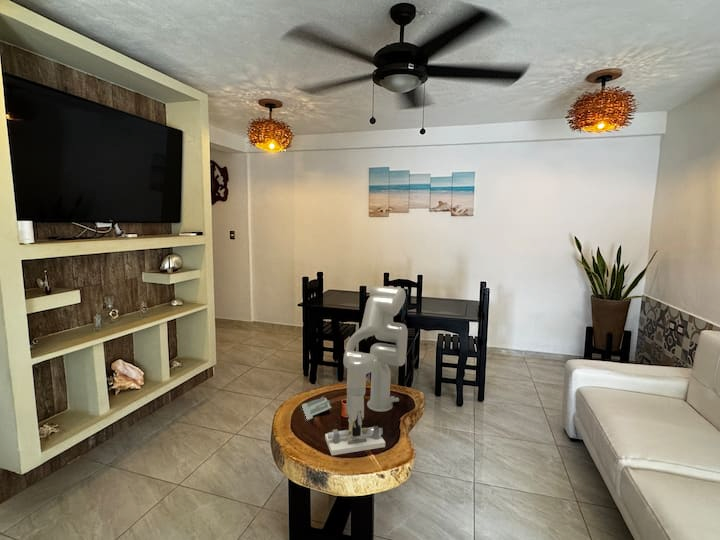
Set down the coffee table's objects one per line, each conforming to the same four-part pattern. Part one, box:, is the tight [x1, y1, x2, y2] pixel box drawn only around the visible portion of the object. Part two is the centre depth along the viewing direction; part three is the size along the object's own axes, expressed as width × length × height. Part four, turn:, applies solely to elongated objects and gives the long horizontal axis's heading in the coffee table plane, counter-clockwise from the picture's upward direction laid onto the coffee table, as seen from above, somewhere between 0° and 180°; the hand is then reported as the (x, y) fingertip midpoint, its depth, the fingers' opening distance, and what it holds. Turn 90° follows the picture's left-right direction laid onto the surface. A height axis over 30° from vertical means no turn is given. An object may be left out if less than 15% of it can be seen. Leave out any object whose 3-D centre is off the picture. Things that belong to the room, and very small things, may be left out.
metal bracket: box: [301, 396, 333, 421], centre depth 173 cm, size 14×6×15 cm
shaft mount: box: [324, 426, 386, 456], centre depth 148 cm, size 22×12×6 cm, turn 107°
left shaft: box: [361, 425, 384, 439], centre depth 149 cm, size 8×4×4 cm, turn 92°
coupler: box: [347, 416, 361, 437], centre depth 148 cm, size 6×4×7 cm
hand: (354, 432), depth 148 cm, fingers closed on coupler, 4 cm apart
